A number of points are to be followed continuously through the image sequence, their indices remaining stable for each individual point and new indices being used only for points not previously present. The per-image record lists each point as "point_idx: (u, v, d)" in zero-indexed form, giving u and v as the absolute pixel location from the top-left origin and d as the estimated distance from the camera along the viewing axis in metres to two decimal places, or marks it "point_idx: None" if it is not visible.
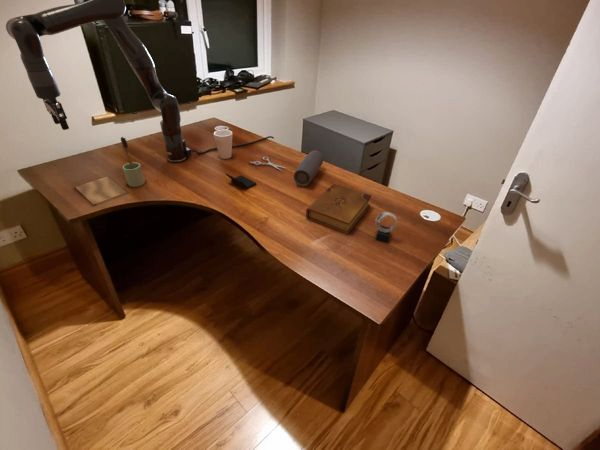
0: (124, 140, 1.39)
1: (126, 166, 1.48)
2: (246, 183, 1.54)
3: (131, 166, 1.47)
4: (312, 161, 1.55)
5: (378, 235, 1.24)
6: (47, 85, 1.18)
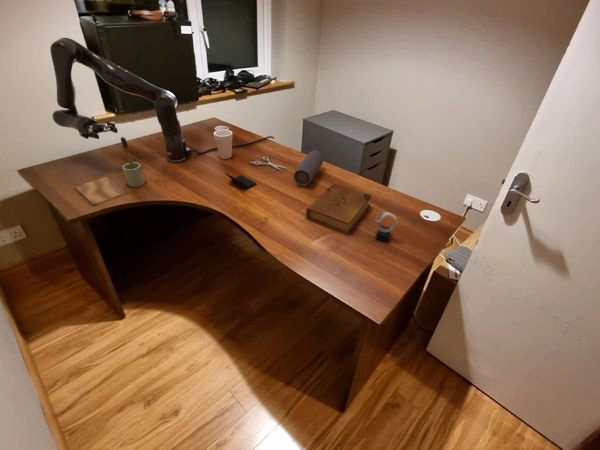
0: (124, 140, 1.39)
1: (126, 166, 1.48)
2: (246, 183, 1.54)
3: (131, 166, 1.47)
4: (312, 161, 1.55)
5: (378, 235, 1.24)
6: (78, 127, 1.48)
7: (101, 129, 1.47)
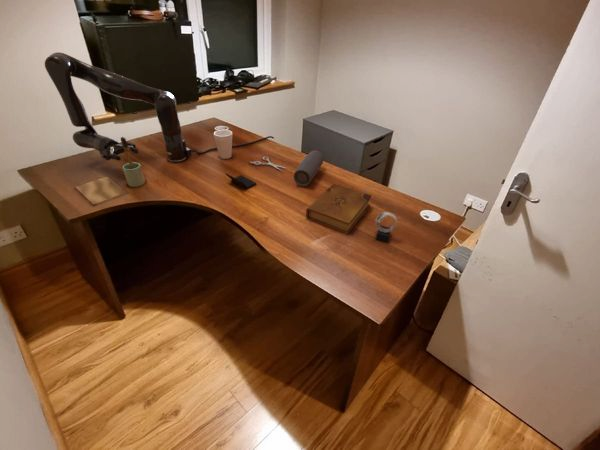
0: (124, 140, 1.39)
1: (126, 166, 1.48)
2: (246, 183, 1.54)
3: (131, 166, 1.47)
4: (312, 161, 1.55)
5: (378, 235, 1.24)
6: (98, 148, 1.48)
7: (122, 150, 1.47)
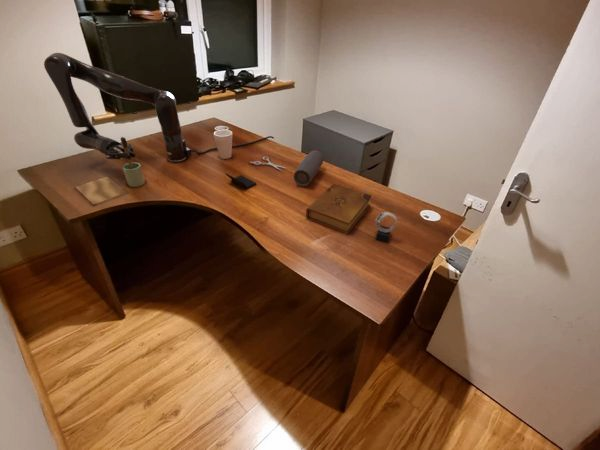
0: (124, 140, 1.39)
1: (126, 166, 1.48)
2: (246, 183, 1.54)
3: (131, 166, 1.47)
4: (312, 161, 1.55)
5: (378, 235, 1.24)
6: (100, 149, 1.47)
7: (124, 151, 1.46)
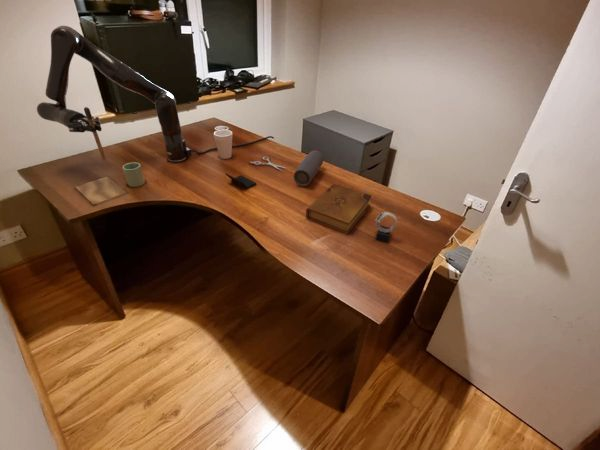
0: (88, 111, 1.28)
1: (126, 166, 1.48)
2: (246, 183, 1.54)
3: (97, 141, 1.35)
4: (312, 161, 1.55)
5: (378, 235, 1.24)
6: (64, 122, 1.35)
7: None
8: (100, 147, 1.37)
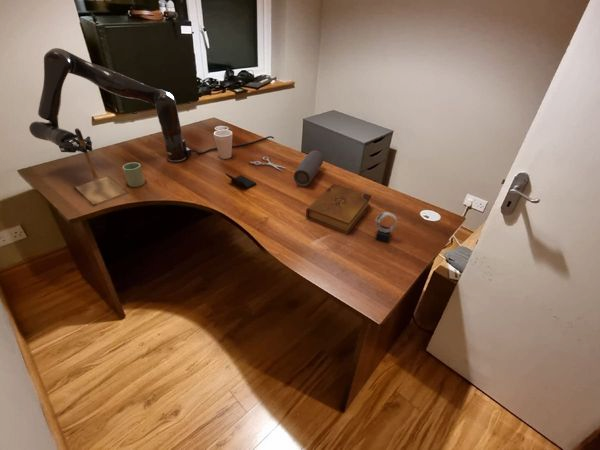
0: (79, 132, 1.30)
1: (126, 166, 1.48)
2: (246, 183, 1.54)
3: (88, 160, 1.37)
4: (312, 161, 1.55)
5: (378, 235, 1.24)
6: (55, 142, 1.38)
7: None
8: (91, 166, 1.39)
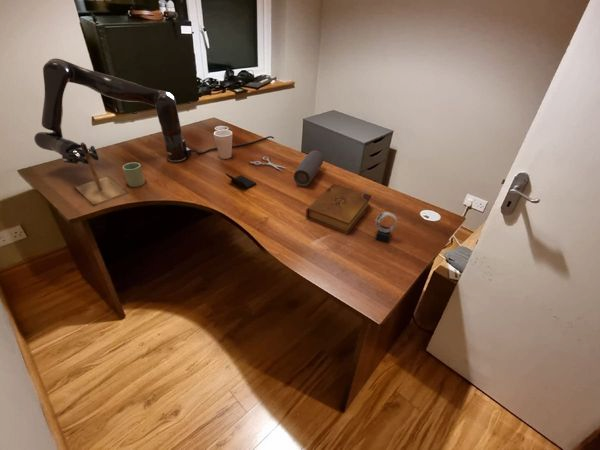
0: (84, 146, 1.34)
1: (126, 166, 1.48)
2: (246, 183, 1.54)
3: (93, 173, 1.41)
4: (312, 161, 1.55)
5: (378, 235, 1.24)
6: (60, 152, 1.41)
7: None
8: (96, 178, 1.43)
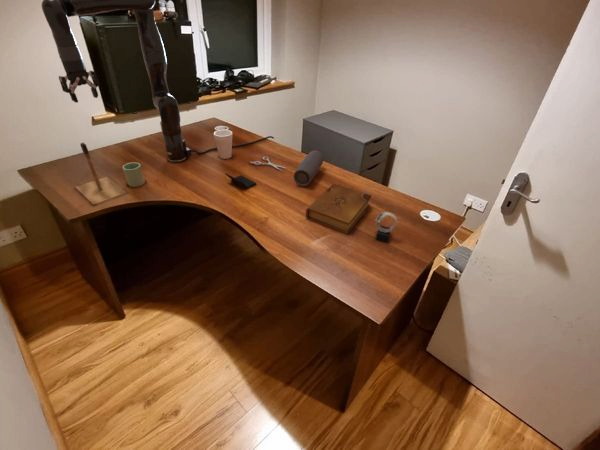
0: (84, 146, 1.34)
1: (126, 166, 1.48)
2: (246, 183, 1.54)
3: (93, 173, 1.41)
4: (312, 161, 1.55)
5: (378, 235, 1.24)
6: (62, 59, 1.28)
7: None
8: (96, 178, 1.43)
